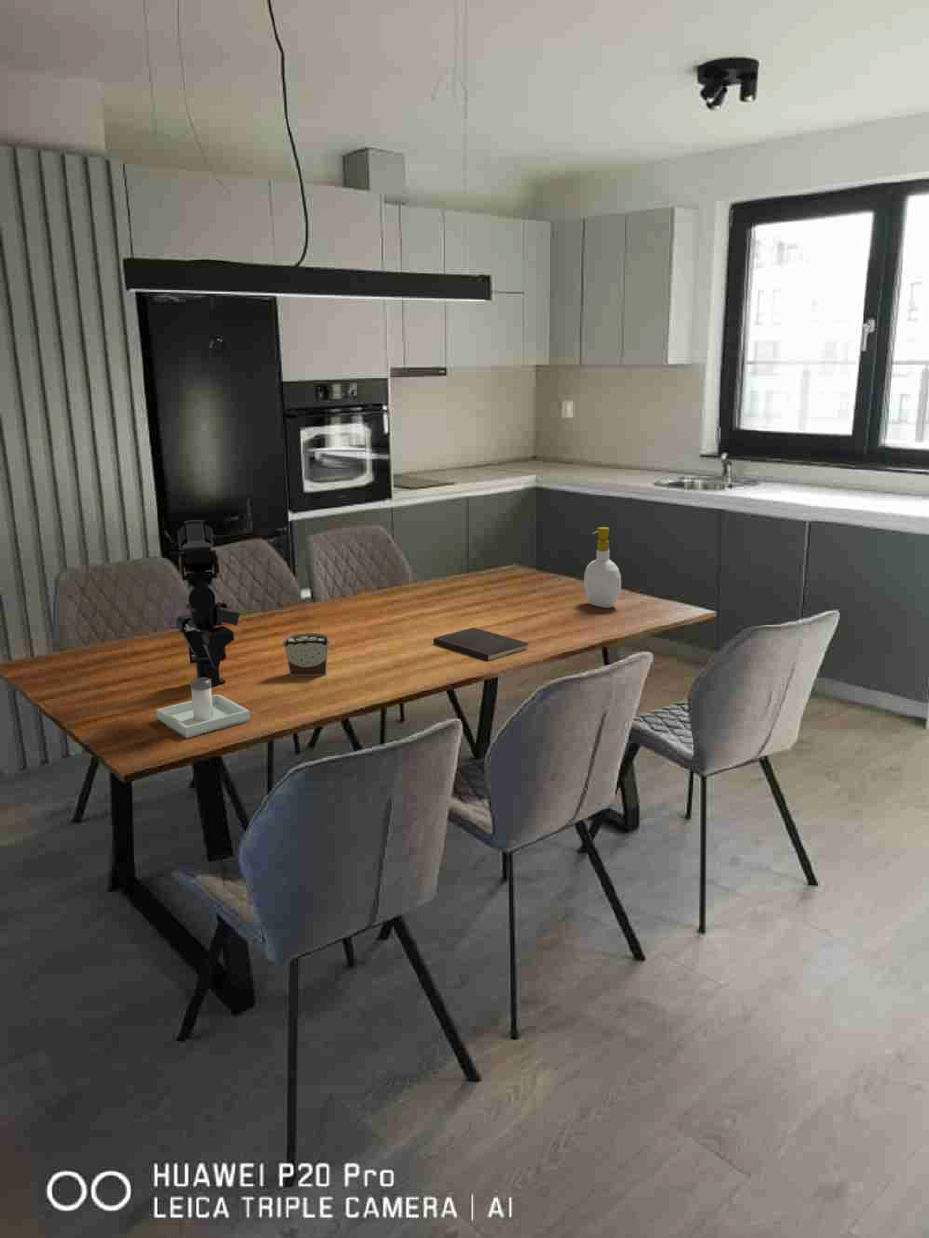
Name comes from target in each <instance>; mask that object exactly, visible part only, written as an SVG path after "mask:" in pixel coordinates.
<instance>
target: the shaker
mask: <svg viewBox="0 0 929 1238" xmlns="http://www.w3.org/2000/svg"><path fill="white" fill-rule="evenodd" d="M189 683H190V685H189V686H190V690H191V701H192V703H193V715H194V720H196V721H207V720H210V719H212V718H213V705H212V694H213V692H212V686H211V679H210V678H197V677H196V678H192V679H190V682H189Z"/></svg>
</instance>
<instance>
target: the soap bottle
mask: <svg viewBox="0 0 929 1238" xmlns="http://www.w3.org/2000/svg"><path fill="white" fill-rule="evenodd" d="M609 532H610V527H607V526H600V527H597V530H595V531H594V532H592V535H596V534H598V539H599V540H597V549H596V559H594V560H592V561H590V562H589V564H587V566H586V568H585V571H584V576H583V577H584V578H583V582H584V583H583V584H584V591H585V594H586V597H587V601H588V603H589V604H590V605H592V606H594V607H598V608H603V609H611V608H613V607H615V606H616V605H617V602H618V600H619V598H620V595H621V588H622V578H621V577H622V575H621V573H620V569H619V567H618V566H617V565H616V563H615V562H613V560H611V559H610V548H609V546H610V545H609V543H610V542H609V539H608V538H609ZM607 539H608V540H607Z"/></svg>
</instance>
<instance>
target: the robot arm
mask: <svg viewBox="0 0 929 1238" xmlns="http://www.w3.org/2000/svg"><path fill="white" fill-rule="evenodd" d="M177 539H178V540H177V541H178V549H179V551H182V552H179V555H180V565H181V575H182V576H181V577H182V581H183V582H184V581H186V583H187V593H188V597H187V598H188V603H186V604H185V605H186V609H187V610H189V613H188V614H183V615H179V616H178V617H177V618H176V620H175V624H176V629H178V632H179V633H180V634H181V636H182V637H183V639H184V640H185V642H186V643H187V644H188V654H189V664H190V665H192V664H195V672H196V678H210V679H211V687H213V686H216V685H221V684H225V683H226V682H227V681H226V680H225V679H224V678H221V676H220V674H221V673H220V664H221V661H223V662H224V660H225V659H227V654H226V653H227V652H226V649H227V648H226V646H227V645H229V644H231V643H232V642H234V641H235V632H234V631H233V630H232V629H230V628H229V627H226V626H224V625H223V623H224V624H231V625H233V626H238V623H239V620H240V615H241V611H237V610H235V609H232V608H229V607H228V604H227V603H225V602H221V601H217V602H216V594H215V588H214V579H218V574H220V566H219V565H220V564H219V557H218V556H219V555H218V554H217V553H216V550H215V549H212V548H214V536H213V528H212V527H211V526H208V525H207V524H205V520H202V519H194V520H186V521H184V522H183V526H181V527H180V528H179V529H177ZM185 573H186V574H185Z"/></svg>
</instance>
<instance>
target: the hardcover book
mask: <svg viewBox="0 0 929 1238" xmlns="http://www.w3.org/2000/svg"><path fill="white" fill-rule="evenodd" d="M432 641H433V643H432V644H434V645H436V646H439V647H442V648H446V649H449V650H451V651H453V652H454V651H455V652H458V653H461V652H462V653H461V654H464V655H467V654H468V655H467V656H471V657H473V656H474V658H476V659H480V660H483V661H486V662H489V661H490V660H491V661H492V660H495V659H499V658H501V657H505V656H509V655H511V654H510V653H512V654H514V653H513V652H515V653H518V652H522V651H525V650H528V645H529V644H530V643H529V642H526V641H523V640H519V639H516V638H512V637H509V636H506V635H501V634H499V633H494V632H491V631H487V630H484V629H482V628H481V629H480V628H477V627H470V628H467V629H463V630H460V631H455V632H452V633H447V634H444V635H441V636H436V637H434V638H433V640H432ZM524 649H525V650H524ZM508 654H509V655H508Z"/></svg>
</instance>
